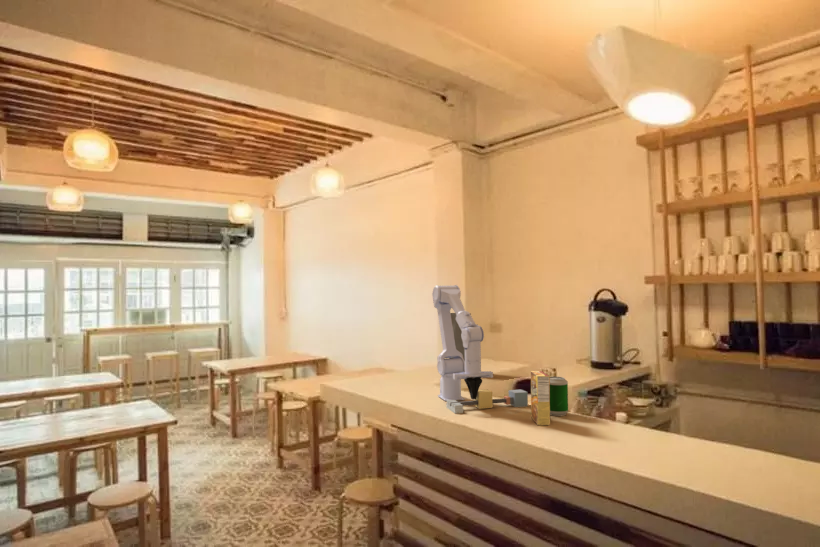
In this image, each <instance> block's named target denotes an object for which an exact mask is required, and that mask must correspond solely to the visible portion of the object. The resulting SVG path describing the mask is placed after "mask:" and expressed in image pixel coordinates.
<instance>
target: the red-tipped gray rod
mask: <svg viewBox="0 0 820 547" xmlns="http://www.w3.org/2000/svg"><path fill="white" fill-rule="evenodd" d="M508 396H509V395H504V396H503V398H494V399H493V398H492V404H505V405H506V406H507V405H508V406H511V405H510V397H508ZM451 403H460V404H462V405H463V407H466V406H475V405H478V400H477V401H475V400H465V401H464V400H463V401H457V402H451Z"/></svg>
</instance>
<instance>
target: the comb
mask: <svg viewBox="0 0 820 547" xmlns="http://www.w3.org/2000/svg"><path fill="white" fill-rule="evenodd" d="M451 402H458V400H447V401H446V405H445V407H446V409H448V410H449V411H451V412H452V413H453V414H463V413H464V406H463V405H462V404H460V403H451Z"/></svg>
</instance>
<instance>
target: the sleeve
mask: <svg viewBox="0 0 820 547" xmlns="http://www.w3.org/2000/svg"><path fill="white" fill-rule="evenodd" d="M492 399H493V391H492V390H490V389H489V388H488V389H487V388H486V389H478V393H477V397H476V399H474V401H477V400H478V405H474V406H475V407H476V408H477V409H479V410H481V409H482V410H483V409H492V408H493V404H494V403H493V404H492Z"/></svg>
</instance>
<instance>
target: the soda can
mask: <svg viewBox="0 0 820 547" xmlns="http://www.w3.org/2000/svg"><path fill="white" fill-rule="evenodd" d="M568 384H569V382H568V380H566V377H563V376H550V416H553V417H554V416H555V417H564V416H566V415H567V414H568V413H569V390H568V389H569V387H568V386H569V385H568Z"/></svg>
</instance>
